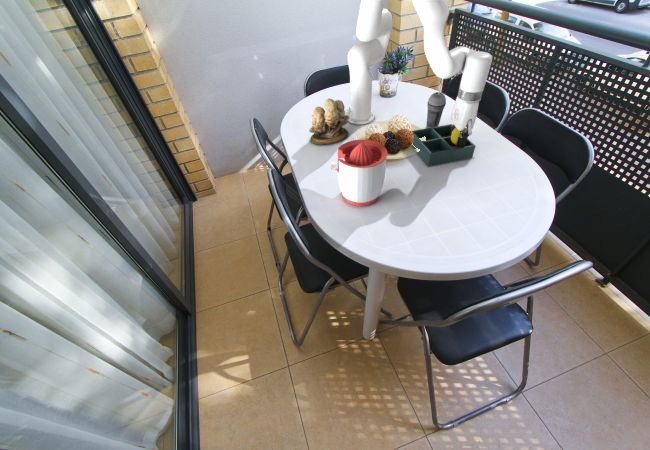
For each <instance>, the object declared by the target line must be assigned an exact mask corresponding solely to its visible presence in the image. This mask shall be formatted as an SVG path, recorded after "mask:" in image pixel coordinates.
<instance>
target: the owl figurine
mask: <svg viewBox="0 0 650 450" xmlns="http://www.w3.org/2000/svg"><path fill="white" fill-rule="evenodd" d="M324 108H325V109H324ZM324 108H323V107H322V106H316V107H315V108H313V114H312V115H311V118H310V119H311V121H310V123H311V124H310V125H311V126H310V127H309V129H308V132H309V133H313V134H312V135H311V137H310V141H311V143H312V144H313V145H316V146H329V145H333V144H337V143H340V142H343V141H344V140H346V139H347V137H348V136H349V131H348V129H347V128H345V127H344V126H345V125H347V123H348V122H349V121H348V120H349V118H348V117H349V116H348V115H345V111H346V110H345V105H344V102H343V101H342V100H341V99H336V100H334V99H332V98H326V99H325V100H324Z"/></svg>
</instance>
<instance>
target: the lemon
mask: <svg viewBox="0 0 650 450" xmlns="http://www.w3.org/2000/svg"><path fill="white" fill-rule="evenodd" d="M463 133H466V131H463ZM458 137H460V131H459V130H458V129H457V128H454V130H453V131H452V134H451V141H452V142H453V143H454V144H455V145H456V144H457V140H458Z"/></svg>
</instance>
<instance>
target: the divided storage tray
mask: <svg viewBox="0 0 650 450" xmlns="http://www.w3.org/2000/svg"><path fill="white" fill-rule="evenodd" d="M452 126H453V123H450V124H449V123H448V124H443V125H439V126H438V127H432V128H427V127H426V128H421V129H414V130H411V131H412V132H413V135H414V142H413V145H414V146H415V147H416V148H418V149H420V151H419V152H416V153H417V155H418V156H419V157H420V158H421V160H422V161H423V162H424V163H425V164H426V166H427V167H432V166H437V165H438V166H439V165H442V164H448V163H454V162H459V161H464V160H469V159H472V158H473V156H474V153H475V149H476V144H475V143H473V141H471V140H470V139H469V137H468V138H467V141H466V145H465V146H464V147H456V145H455V144H454V143H453V142H452V141H451V138H450V136H451V132H452V128H453V127H452ZM424 136H425V137H426V141H421V140H420V139H419V138H422V137H424ZM413 145H410V146H411V148H412V149H413V150H414V149H416V148H415V147H414V146H413Z"/></svg>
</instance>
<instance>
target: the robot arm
mask: <svg viewBox="0 0 650 450" xmlns="http://www.w3.org/2000/svg"><path fill="white" fill-rule="evenodd" d="M410 1H411V3H412V5H413V7H414V10H415V12H416V14H417V16H418V18H419V20H420V22H421V25H422V27H423V51H424V55H425V57H426V60H427V62H428V65H429V66H430V69H431V70H432V72H433V73H434V75H435V76H436V77H437V78H438V79H442V80H447V79H449V78H452V77H454V76H456V75H457V74H460V73H462V75H461V79H460V82H459V83H460V84H459V88H458V92H457V96H456V98H455V102H454V104H453V107H452V112H451V115H450V121H451V123H452V125H453V126H452V127H453V128H452V131H453V130H454V128H457V129H458V130H459V131H460V137H458V140H457V144H456V147H464V146H465V145H466V141H467V138H468V139H469V137H470V136H471V135H472V134H473V128H474V126H475V123H476V120H477V116H478V111H479V106H480V105H479V104H480V101H481V100H482V96H483V93H484V90H485V86H486V82H487V80H488V76H489V74H490V73H489V72H490V70H491V66H492V62H493V56H492V54H491V53H489V52H487V51H477V50H474V49H472V48H470V47H468V46H462V45H459V46H456V47H454V48H452V49H450V50H449V47H448V46H447V43H446V40H445V35H444V34H445V33H444V32H445V30H444V29H445V25H446V23H447V20H448V18H449V15H450V8H449V5H448V3H447V1H446V0H410ZM385 3H386V1H385V0H360V3H359V8H358V14H357V21H356V26H355V35H356V38H357V39H358V40H359V41H360V42H357V43H356V44H354V45H352V46H351V48H349V50H348V52H347V64H348V68H349V70H348V72H349V91H350V92H349V104H350V105H349V107H348V109H346V110H344V111H345V115H348V116H349V117H348V118H349V120H348V121H347V122H348V123H350V124H354V125H367V124H370V123H372V122H374V120H375V114H374V113H373V112H372V101H373V100H372V98H373V97H372V96H373V75H372V72H371V70H370V67H372V66H373V65H376V64H378V63H379V62H382V60H383V59H384V58H385V56H386V54H387V51H388V46H389V43H390V39H391V36H392V32H393V27H394V20H393V19H394V18H393V15H392V13H391V11H390V10H389V9H387V8H385ZM463 131H466V133H463ZM451 134H452V132H451ZM450 138H451V136H450Z"/></svg>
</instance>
